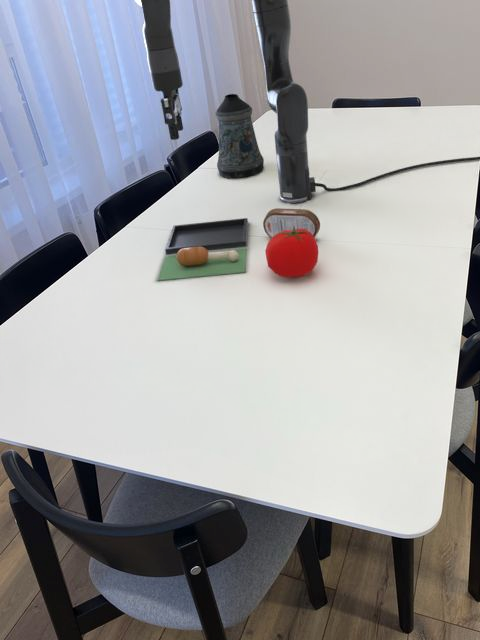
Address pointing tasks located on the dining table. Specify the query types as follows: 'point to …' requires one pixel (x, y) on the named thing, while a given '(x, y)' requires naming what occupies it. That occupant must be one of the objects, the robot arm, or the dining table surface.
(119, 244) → the dining table surface
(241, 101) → the beer stein
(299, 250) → the tomato
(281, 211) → the tin
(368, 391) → the dining table surface
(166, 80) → the robot arm
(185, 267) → the napkin
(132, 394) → the dining table surface
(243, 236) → the pan
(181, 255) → the drumstick
